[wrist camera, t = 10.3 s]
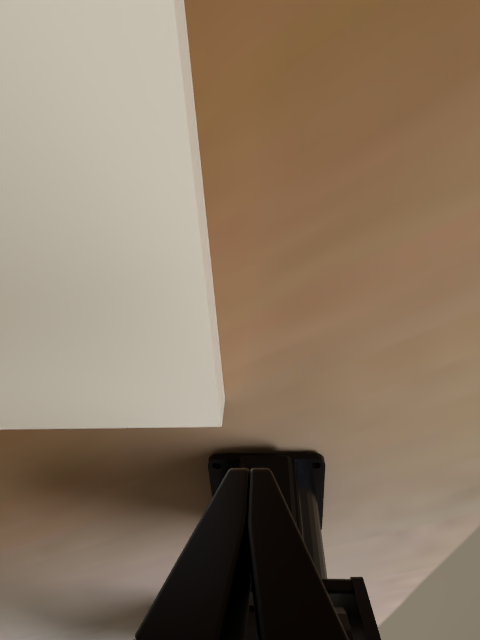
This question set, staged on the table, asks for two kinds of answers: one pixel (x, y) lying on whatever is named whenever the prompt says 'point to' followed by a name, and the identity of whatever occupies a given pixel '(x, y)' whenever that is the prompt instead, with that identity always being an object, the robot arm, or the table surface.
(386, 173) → the table surface
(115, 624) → the table surface
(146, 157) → the cream block
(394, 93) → the table surface
